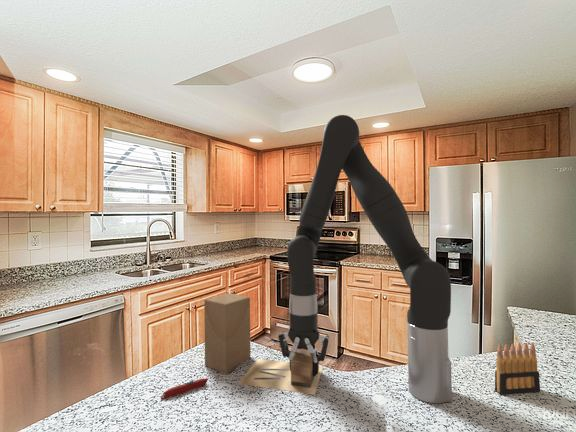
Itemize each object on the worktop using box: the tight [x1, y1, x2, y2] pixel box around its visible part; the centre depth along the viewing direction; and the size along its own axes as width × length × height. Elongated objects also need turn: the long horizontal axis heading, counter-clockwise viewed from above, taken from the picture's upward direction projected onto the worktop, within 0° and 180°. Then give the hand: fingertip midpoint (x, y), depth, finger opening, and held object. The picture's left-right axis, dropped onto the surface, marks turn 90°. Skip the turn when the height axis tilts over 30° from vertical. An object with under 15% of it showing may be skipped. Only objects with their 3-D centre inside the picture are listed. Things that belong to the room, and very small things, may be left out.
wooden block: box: [203, 293, 251, 375], centre depth 91 cm, size 10×10×20 cm
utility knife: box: [160, 378, 209, 400], centre depth 76 cm, size 12×1×2 cm, turn 124°
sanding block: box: [291, 349, 314, 388], centre depth 79 cm, size 5×9×6 cm, turn 165°
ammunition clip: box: [494, 342, 541, 396], centre depth 74 cm, size 11×2×12 cm, turn 95°
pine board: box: [238, 358, 324, 395], centre depth 81 cm, size 20×14×2 cm
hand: (304, 373), depth 79 cm, fingers closed on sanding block, 5 cm apart
